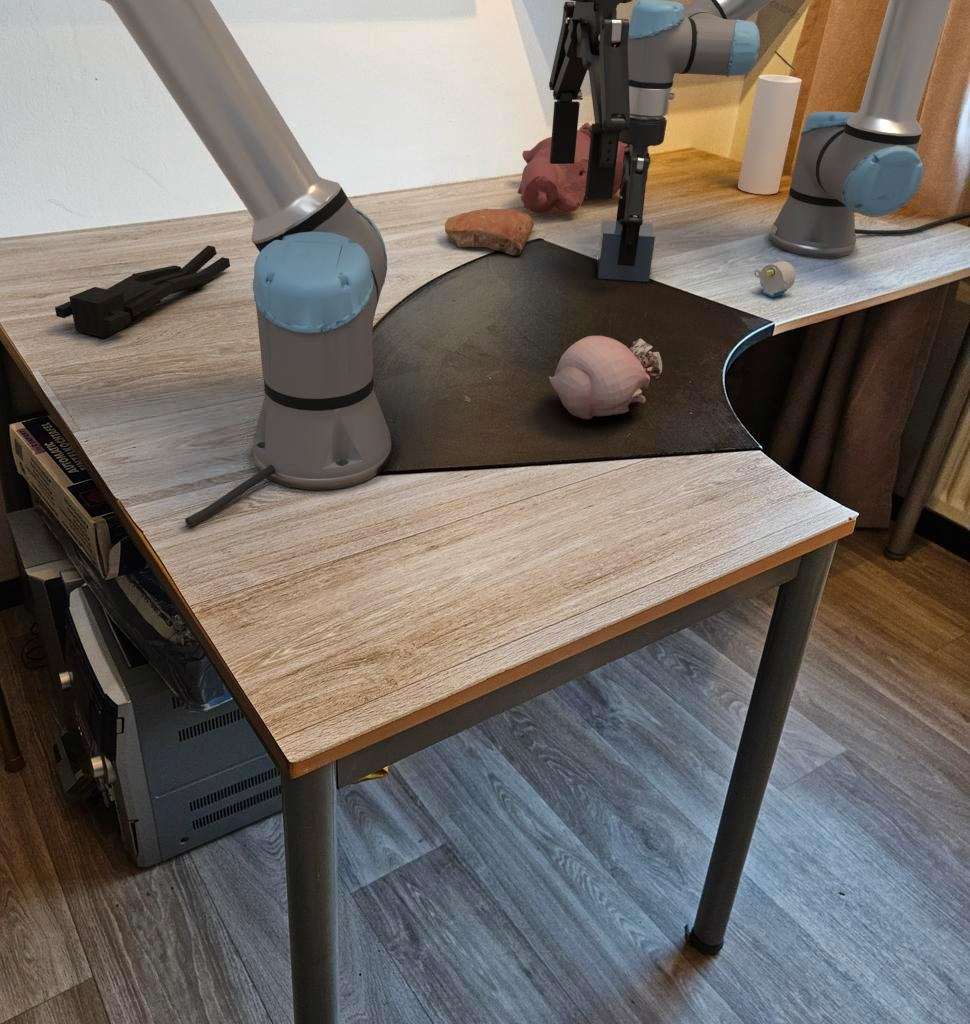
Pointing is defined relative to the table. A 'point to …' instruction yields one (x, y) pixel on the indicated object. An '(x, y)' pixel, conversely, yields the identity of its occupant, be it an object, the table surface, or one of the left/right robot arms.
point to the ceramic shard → (491, 229)
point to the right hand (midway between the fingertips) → (623, 251)
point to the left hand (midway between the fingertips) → (579, 180)
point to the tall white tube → (769, 131)
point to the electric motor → (776, 278)
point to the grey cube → (611, 250)
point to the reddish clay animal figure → (560, 176)
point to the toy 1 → (136, 294)
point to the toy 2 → (604, 376)
